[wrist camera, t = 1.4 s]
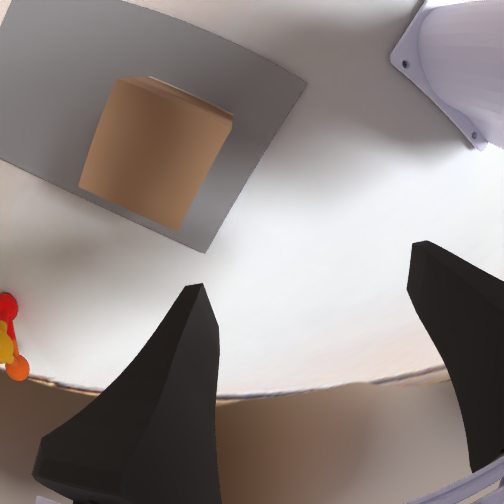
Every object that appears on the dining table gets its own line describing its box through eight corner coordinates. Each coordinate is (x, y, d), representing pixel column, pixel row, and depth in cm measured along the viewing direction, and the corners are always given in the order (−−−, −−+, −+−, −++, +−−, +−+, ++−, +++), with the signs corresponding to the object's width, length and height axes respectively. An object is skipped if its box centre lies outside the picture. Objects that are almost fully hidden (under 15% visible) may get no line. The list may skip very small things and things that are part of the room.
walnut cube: (233, 114, 15) (231, 129, 11) (192, 190, 18) (177, 232, 13) (150, 76, 14) (116, 78, 10) (116, 156, 16) (78, 186, 12)
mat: (306, 82, 15) (307, 83, 14) (205, 251, 20) (205, 253, 20) (23, -17, 9) (20, -18, 9) (-28, 142, 14) (-30, 143, 14)
